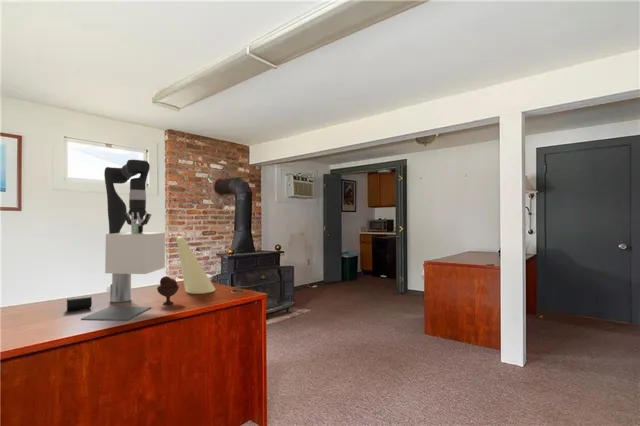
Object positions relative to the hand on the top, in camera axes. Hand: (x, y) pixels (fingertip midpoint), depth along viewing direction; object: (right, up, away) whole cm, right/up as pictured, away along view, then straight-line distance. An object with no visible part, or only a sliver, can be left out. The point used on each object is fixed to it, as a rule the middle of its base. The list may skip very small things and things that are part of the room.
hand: (137, 233), depth 178 cm
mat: (-6, -39, -7) cm, 40 cm away
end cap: (-29, -39, -1) cm, 49 cm away
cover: (0, -19, 0) cm, 19 cm away
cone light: (+14, -39, +45) cm, 61 cm away
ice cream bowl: (+10, -39, +12) cm, 42 cm away
